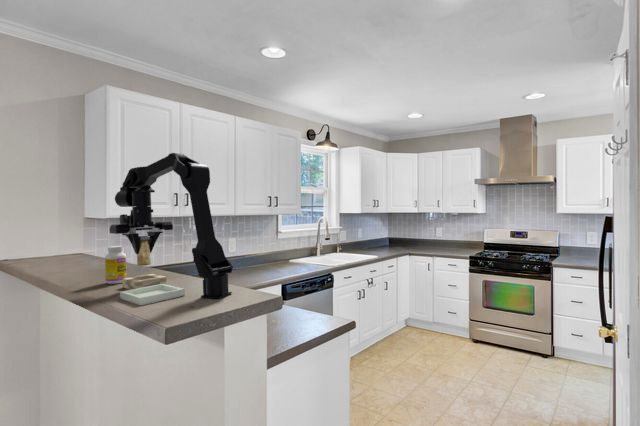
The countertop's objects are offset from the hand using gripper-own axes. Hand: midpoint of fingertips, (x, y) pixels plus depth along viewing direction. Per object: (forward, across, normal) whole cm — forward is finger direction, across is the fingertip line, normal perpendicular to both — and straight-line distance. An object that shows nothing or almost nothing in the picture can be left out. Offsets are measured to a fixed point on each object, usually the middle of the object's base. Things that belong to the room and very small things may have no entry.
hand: (143, 253), depth 126 cm
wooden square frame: (+11, 0, 0) cm, 11 cm away
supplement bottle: (+11, +3, -16) cm, 20 cm away
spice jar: (+4, 0, 0) cm, 4 cm away
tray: (+11, +6, +17) cm, 21 cm away
